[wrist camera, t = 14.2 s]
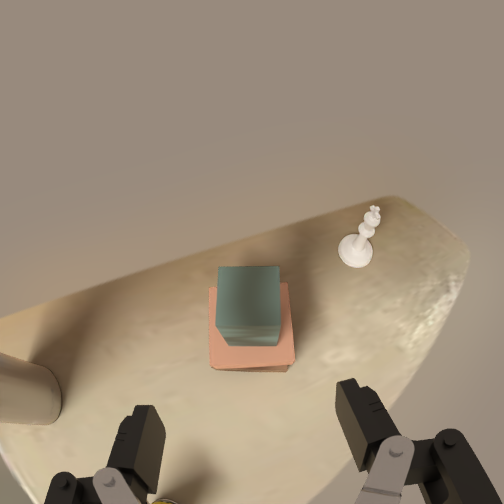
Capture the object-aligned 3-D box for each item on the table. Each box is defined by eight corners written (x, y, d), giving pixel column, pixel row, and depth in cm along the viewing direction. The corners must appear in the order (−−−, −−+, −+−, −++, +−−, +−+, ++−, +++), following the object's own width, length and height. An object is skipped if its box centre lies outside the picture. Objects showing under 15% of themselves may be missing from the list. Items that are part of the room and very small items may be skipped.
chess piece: (362, 232, 40) (384, 187, 31) (377, 261, 37) (405, 221, 28) (332, 241, 39) (348, 195, 30) (346, 272, 37) (369, 232, 28)
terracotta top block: (215, 368, 29) (209, 365, 26) (214, 298, 33) (209, 287, 30) (292, 364, 29) (295, 360, 26) (285, 293, 33) (287, 282, 29)
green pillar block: (228, 346, 27) (215, 325, 20) (230, 301, 29) (218, 266, 22) (276, 346, 26) (281, 325, 19) (275, 301, 29) (279, 265, 22)
